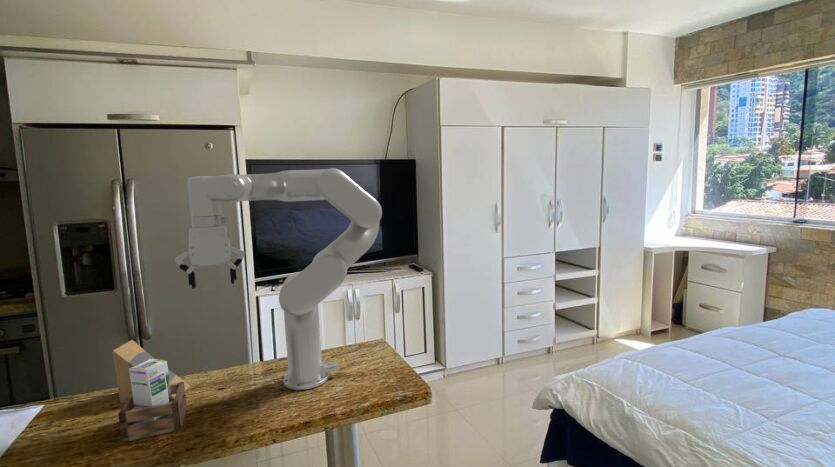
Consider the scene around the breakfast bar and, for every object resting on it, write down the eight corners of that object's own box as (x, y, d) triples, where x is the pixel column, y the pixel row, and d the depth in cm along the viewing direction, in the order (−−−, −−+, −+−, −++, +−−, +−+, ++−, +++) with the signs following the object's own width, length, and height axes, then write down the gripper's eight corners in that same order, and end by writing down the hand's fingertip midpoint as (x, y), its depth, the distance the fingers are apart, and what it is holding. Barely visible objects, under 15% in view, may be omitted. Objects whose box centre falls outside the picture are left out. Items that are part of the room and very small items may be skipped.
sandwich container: (176, 400, 120) (170, 347, 118) (119, 403, 119) (111, 350, 117) (191, 385, 128) (186, 336, 126) (138, 388, 128) (131, 339, 126)
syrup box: (154, 428, 105) (147, 369, 103) (135, 424, 106) (128, 367, 105) (174, 415, 110) (167, 359, 108) (156, 412, 112) (149, 357, 110)
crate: (186, 406, 116) (183, 381, 115) (181, 429, 105) (178, 402, 104) (133, 416, 112) (130, 391, 111) (122, 442, 101) (118, 414, 100)
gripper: (242, 219, 125) (247, 278, 127) (172, 224, 118) (179, 286, 120) (242, 221, 118) (247, 284, 120) (168, 226, 111) (176, 292, 113)
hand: (213, 285), depth 120 cm, fingers open, 9 cm apart
